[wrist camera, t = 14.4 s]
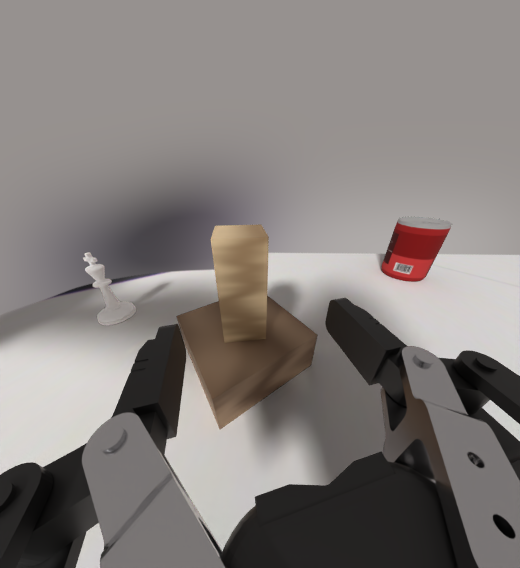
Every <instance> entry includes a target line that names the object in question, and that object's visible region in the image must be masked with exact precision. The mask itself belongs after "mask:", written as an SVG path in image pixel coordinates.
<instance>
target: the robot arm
mask: <svg viewBox="0 0 520 568" xmlns="http://www.w3.org/2000/svg"><path fill="white" fill-rule="evenodd" d="M326 328H327V330H328V332H329V333H330V335H331V336H332V337H333V339H334V340H335V341H336V343H337V344H338V345H339V346H340V348H341V349H342V350H343V352H344V353H345V354H346V356H347V357H348V358H349V359H350V361H351V362H352V363H353V365H354V366H355V367H356V369H357V370H358V371H359V372H360V374H361V375H362V376H363V378H364V379H365V380H366V382H367V383H368V384H369V385H373V384H376V383H380V384H381V386H382V388H381V399H382V408H383V416H384V425H385V443H384V447H383V453H382V452H379V453H376V454H373V455H370V456H368V457H365V458H362V459H359V460H356V461H354V462H353V463H351V464H350V465H349V466H348V467H347V468H346V469H345V470H344V471H343V472H342V473H341V474H340V475H339V476H338V477H337V478H336V479H335V480H334V481H332V482H331V483H330V484H329V485H326V486H320V485H292V484H289V485H287V486H284V487H281V488H278V489H275V490H273V491H270V492H267V493H264V494H261V495H259V496H256V497H255V503H256V506H255V507H253V508H252V509H251V510H250V511H249V512H248V513H247V514H246V515H245V516H244V517H243V518H242V519H241V521H240V522H239V523H238V525H237V526H236V528H235V529H234V530H233V532H232V534H231V536H230V537H229V539H228V541H227V543H226V545H225V547H224V549H223V551H222V550H221V548H220V546H219V545H218V543H217V541H216V540H215V538H214V536H213V535H212V533H211V531H210V530H209V528H208V526H207V525H206V523H205V521H204V520H203V518H202V516H201V515H200V513H199V511H198V510H197V508H196V507H195V505H194V504H193V502H192V500H191V499H190V497H189V495H188V494H187V492H186V490H185V489H184V487H183V485H182V483H181V482H180V480H179V478H178V477H177V475H176V473H175V472H174V470H173V468H172V467H171V465H170V463H169V462H168V460H167V458H166V457H165V455H164V453H165V447H166V440H167V439H169V438H173V437H176V435H177V427H178V419H179V411H180V403H181V395H182V387H183V379H184V371H185V363H186V349H185V345H184V341H183V338H182V335H181V332H180V328H179V326H178V324H175V325H169V326H162V327H159V329H158V332H157V335H156V338H155V339H153V340H148V341H147V342H146V343H145V344H144V345H143V346H142V348H141V349H140V350H139V352H138V354H137V357H136V359H135V364H133V367H132V369H131V373H130V374H129V377H128V379H127V381H126V384H125V386H124V389H123V391H122V394H121V396H120V399H119V401H118V404H117V406H116V409H115V411H114V413H113V416H112V417H111V419H109V420H108V421H106V422H105V423H104V424H103V425H101V426H100V427H99V428H98V429H97V430H96V431H95V433H94V434H93V435H92V436H91V438H90V439H89V441H88V443H86V444H85V445H83V446H81V447H80V448H78V449H76V450H74V451H72V452H70V453H69V454H67V455H65V456H63V457H61V458H59V459H58V460H56V461H54V462H52V463H50V464H48V465H47V466H45V467H41V466H39V465H38V464H36V463H24V464H20V465H18V466H15V467H13V468H11V469H9V470H7V471H6V472H4V473H2V474H1V475H0V568H75V567H76V564H77V561H78V557H79V554H80V551H81V548H82V544H83V541H84V538H85V535H86V531H88V530H89V529H90V528H92V527H93V526H94V525H96V524H97V523H99V524H100V528H101V531H102V535H103V539H104V551H103V552H102V554H101V558H100V568H520V441H518V440H517V439H516V438H515V437H514V436H513V435H512V434H511V433H510V432H508V431H507V430H506V429H505V428H504V427H503V426H502V425H501V424H499V423H498V422H497V421H496V420H495V419H494V418H493V417H492V416H490V415H489V414H488V413H487V412H486V411H485V410H484V409H483V408H481V407H483V406H484V405H485V404H486V403H487V402H488V401H489V400H491V401H493V402H494V403H495V404H496V405H497V406H499V407H500V408H501V409H502V410H503V411H505V412H506V413H507V414H508V415H509V416H511V417H512V418H513V419H514V420H515V421H517V422H518V423H519V424H520V376H519V375H517V374H516V373H514V372H513V371H511V370H510V369H508V368H507V367H505V366H504V365H502V364H501V363H499V362H498V361H496V360H494V359H493V358H491V357H489V356H486V355H484V354H481V353H478V352H475V351H462V352H461V353H460V354H459V356H458V357H457V358H456V359H446V358H438V357H436V356H435V355H434V354H432V353H430V352H429V351H427V350H425V349H422V348H419V347H414V346H406V345H405V344H404V343H403V342H402V341H401V340H399V339H398V338H397V337H396V336H395V335H394V334H392V333H391V332H390V331H389V330H388V329H387V328H385V327H384V326H383V325H382V324H380V322H378V321H377V320H376V319H374V318H373V317H372V316H371V315H370V314H369V313H368V312H367V311H365V310H363V309H362V308H360V307H358V306H355V305H354V304H352V303H351V302H350V301H349V300H348V299H346V298H341V299H335V300H331V301H330V303H329V308H328V312H327V317H326Z"/></svg>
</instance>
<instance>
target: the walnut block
mask: <svg viewBox="0 0 520 568" xmlns="http://www.w3.org/2000/svg"><path fill="white" fill-rule="evenodd" d="M177 320H178V323H179V326H180V329H181V333H182V336H183V339H184V343H185V345H186V348H187V350H188V353H189V355H190V358H191V360H192V363H193V365H194V367H195V370H196V372H197V375H198V377H199V380H200V382H201V385H202V387H203V389H204V392H205V394H206V397H207V399H208V402H209V404H210V407H211V409H212V411H213V414H214V416H215V419H216V421H217V424H218V426H219V429H221V428H223V427H224V426H226V425H227V424H228V423H230V422H231V421H233V420H234V419H236V418H237V417H238V416H240V415H241V414H243V413H244V412H245V411H247V410H248V409H250V408H251V407H252V406H254V405H255V404H257V403H258V402H260V401H261V400H262V399H264V398H265V397H267V396H268V395H269V394H271V393H272V392H274V391H275V390H276V389H278V388H279V387H281V386H282V385H284V384H285V383H286V382H288V381H289V380H291V379H292V378H293V377H295V376H296V375H298V374H299V373H300V372H302V371H303V370H305V369H306V368H308V367H309V366H310V365H311V363H312V359H313V354H314V349H315V344H316V339H317V334H315V333H314V332H313V331H312V330H310V329H309V328H308V327H307V326H305V325H304V324H303V323H301V322H300V321H299V320H298V319H296V318H295V317H294V316H293V315H291V314H290V313H289V312H288V311H286V310H285V309H284V308H282V307H281V306H280V305H279V304H277V303H276V302H275V301H274V300H272V299H271V298H270V297H268V296H267V319H266V339H260V340H249V341H239V342H228V343H224V336H223V328H222V320H221V313H220V305H219V301H218V302H215V303H212V304H209V305H207V306H204V307H201V308H198V309H195V310H193V311H190V312H187V313H184V314H181V315H178V316H177Z"/></svg>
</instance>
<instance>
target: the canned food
mask: <svg viewBox="0 0 520 568" xmlns="http://www.w3.org/2000/svg"><path fill="white" fill-rule="evenodd" d="M451 225H452V223H450V222H448V221H444V220H440V219H433V218H423V217H402V218H399V219H398V221H397V224H396V227H395V229H394V232H393V235H392V238H391V241H390V244H389V246H388V250H387V252H386V255H385V258H384V261H383V263H382V271H383V273H385V274H386V275H388V276H390V277H392V278H395V279H399V280H403V281H420V280H422V279H424V278H425V277H426V275H427V273H428V271H429V270H430V268H431V266H432V264H433V262H434V260H435V258H436V256H437V254H438V252H439V250H440V248H441V246H442V244H443V242H444V240H445V238H446V236H447V234H448V232H449V230H450V228H451Z"/></svg>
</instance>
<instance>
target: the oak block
mask: <svg viewBox="0 0 520 568" xmlns="http://www.w3.org/2000/svg"><path fill="white" fill-rule="evenodd" d="M211 245H212V252H213V260H214V268H215V275H216V283H217V290H218V298H219V305H220V313H221V320H222V328H223V336H224V343H228V342H239V341H249V340H260V339H266V319H267V279H268V235H267V234H266V232H265V230H264V229H263V227H262V226H261V225H233V226H232V225H230V226H215V229H214V231H213V234H212V237H211Z"/></svg>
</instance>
